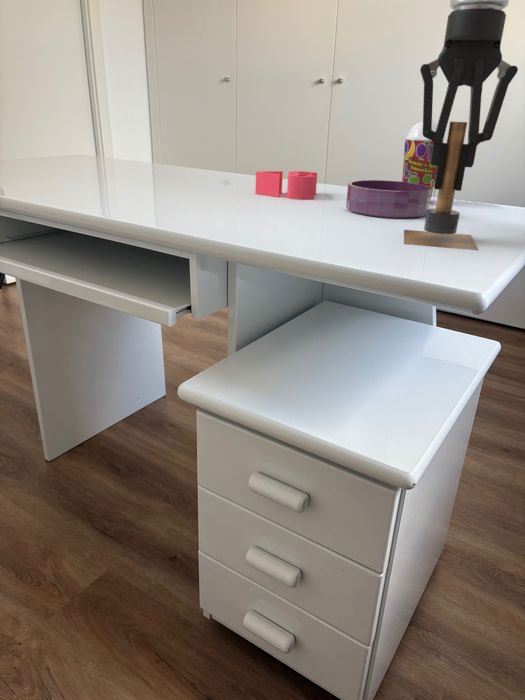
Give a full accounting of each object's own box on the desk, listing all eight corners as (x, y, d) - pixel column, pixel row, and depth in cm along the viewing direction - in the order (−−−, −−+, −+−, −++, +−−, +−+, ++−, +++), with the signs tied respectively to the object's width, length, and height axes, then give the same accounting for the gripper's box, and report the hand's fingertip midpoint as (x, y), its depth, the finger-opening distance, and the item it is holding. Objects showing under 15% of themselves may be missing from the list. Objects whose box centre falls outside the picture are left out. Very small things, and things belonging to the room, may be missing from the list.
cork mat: (470, 237, 90) (471, 234, 90) (478, 253, 80) (479, 250, 80) (403, 232, 92) (404, 229, 92) (403, 247, 83) (403, 243, 82)
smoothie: (402, 204, 119) (415, 106, 111) (392, 198, 127) (404, 105, 118) (439, 205, 120) (455, 107, 111) (427, 199, 127) (441, 107, 119)
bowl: (426, 209, 114) (430, 183, 112) (429, 224, 100) (433, 193, 97) (349, 204, 117) (352, 178, 115) (342, 217, 103) (344, 188, 101)
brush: (455, 228, 87) (474, 122, 80) (457, 235, 83) (478, 123, 76) (423, 226, 88) (440, 120, 82) (424, 232, 84) (442, 121, 77)
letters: (251, 196, 123) (252, 173, 121) (259, 190, 132) (259, 169, 130) (313, 200, 121) (314, 176, 119) (316, 193, 130) (317, 172, 128)
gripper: (419, 6, 71) (395, 188, 81) (544, 5, 68) (504, 195, 78) (418, 14, 78) (396, 182, 88) (532, 15, 75) (496, 188, 85)
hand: (447, 188), depth 83 cm, fingers closed on brush, 2 cm apart
